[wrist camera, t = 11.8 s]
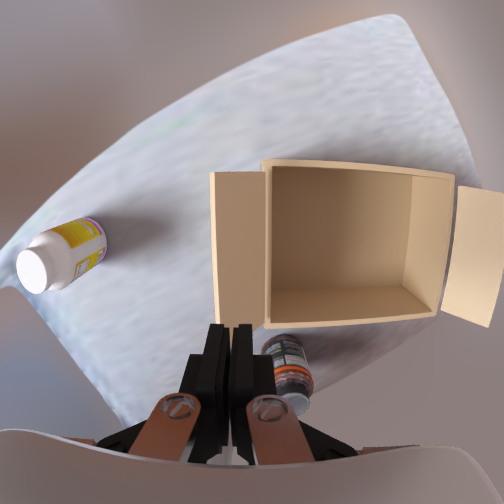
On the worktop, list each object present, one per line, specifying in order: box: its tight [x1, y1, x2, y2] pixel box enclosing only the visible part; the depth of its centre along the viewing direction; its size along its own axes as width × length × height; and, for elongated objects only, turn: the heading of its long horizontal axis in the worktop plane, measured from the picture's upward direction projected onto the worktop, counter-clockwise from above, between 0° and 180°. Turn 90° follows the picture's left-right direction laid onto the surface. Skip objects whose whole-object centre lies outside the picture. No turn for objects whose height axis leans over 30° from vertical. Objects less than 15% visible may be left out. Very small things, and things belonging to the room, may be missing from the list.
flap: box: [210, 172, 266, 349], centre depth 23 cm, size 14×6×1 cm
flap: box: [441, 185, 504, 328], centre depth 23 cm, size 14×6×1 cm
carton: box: [261, 159, 455, 329], centre depth 31 cm, size 16×20×9 cm
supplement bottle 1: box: [17, 218, 107, 294], centre depth 29 cm, size 7×7×13 cm
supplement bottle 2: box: [261, 335, 314, 416], centre depth 34 cm, size 6×6×11 cm
